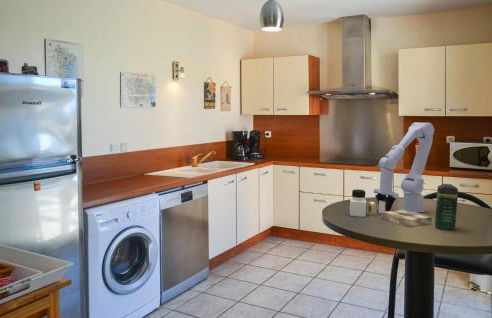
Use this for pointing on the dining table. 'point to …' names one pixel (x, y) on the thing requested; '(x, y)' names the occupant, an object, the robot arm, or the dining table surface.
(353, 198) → the medicine bottle
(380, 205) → the steel square peg
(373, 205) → the brass round peg
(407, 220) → the bore block
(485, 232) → the dining table surface
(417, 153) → the robot arm
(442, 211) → the coffee jar
